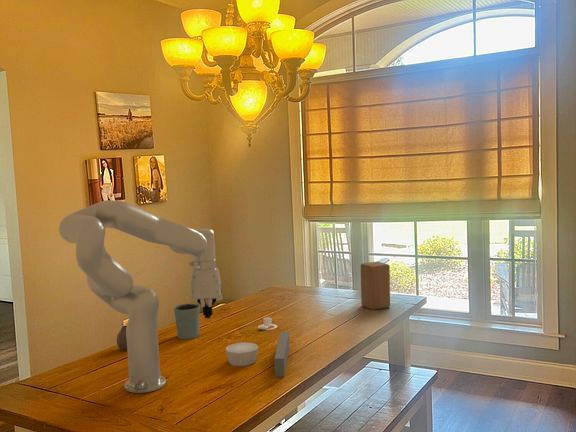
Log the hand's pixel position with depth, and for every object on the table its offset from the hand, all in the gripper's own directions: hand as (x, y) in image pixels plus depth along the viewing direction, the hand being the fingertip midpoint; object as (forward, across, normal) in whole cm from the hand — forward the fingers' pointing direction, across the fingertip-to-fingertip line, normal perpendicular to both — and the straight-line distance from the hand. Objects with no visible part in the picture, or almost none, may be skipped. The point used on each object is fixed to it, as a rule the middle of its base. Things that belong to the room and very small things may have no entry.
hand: (208, 317), depth 199 cm
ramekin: (+16, +11, 0) cm, 20 cm away
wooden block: (+17, +63, +69) cm, 95 cm away
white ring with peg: (+17, +13, +40) cm, 45 cm away
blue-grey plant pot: (+16, -15, +30) cm, 37 cm away
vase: (+16, -35, +15) cm, 41 cm away
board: (+16, +25, 0) cm, 30 cm away
